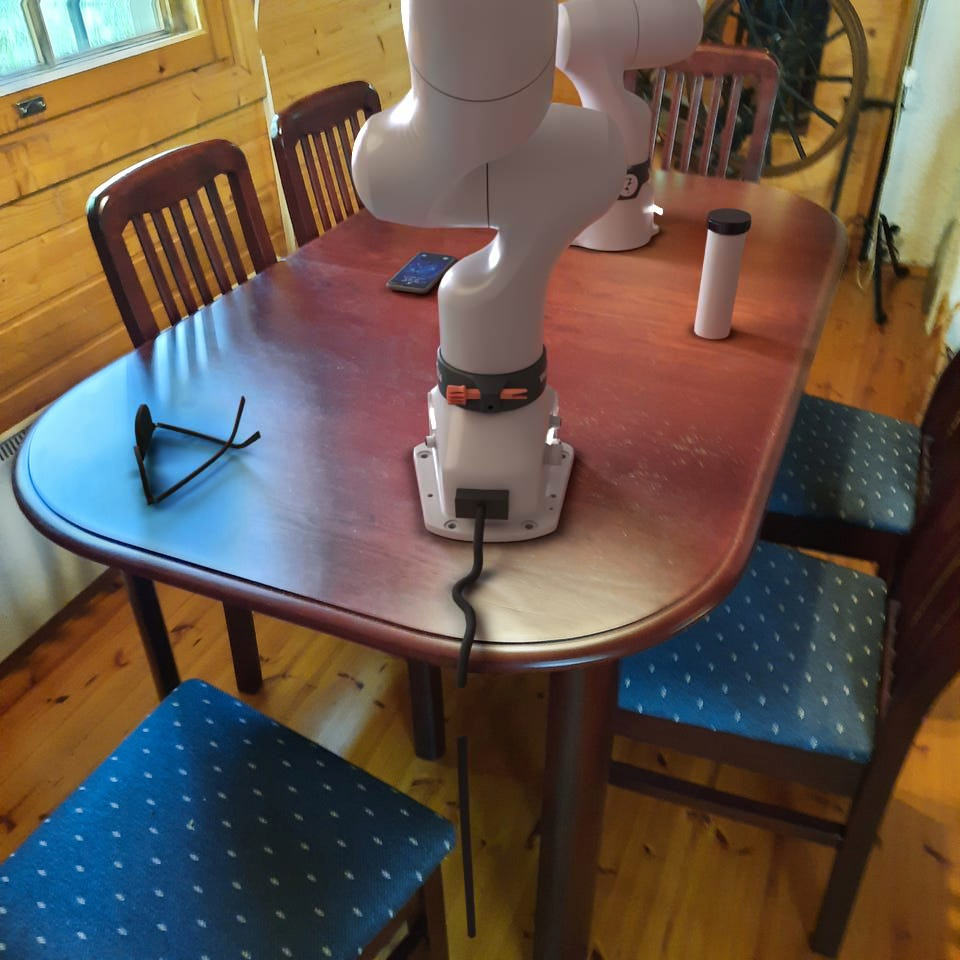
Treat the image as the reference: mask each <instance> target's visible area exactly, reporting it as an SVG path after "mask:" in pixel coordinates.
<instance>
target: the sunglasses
mask: <svg viewBox="0 0 960 960" xmlns="http://www.w3.org/2000/svg"><path fill="white" fill-rule="evenodd" d="M245 404H246V398H245V396H244V395H241V396H240V401H239V405H238V408H237V409H238V410H237V413H236V417H235V421H234V425H233V429H232V432H231V435H230V437H229V439H228V440H227V441H226V440H223V439H220V438H217V437H214V436H211V435H208V434H204V433H201V432H198V431H195V430H192V429H188V428H184V427H180V426H176V425H172V424H169V423H164V422H159V421H157V422H153V418H152V414H151V411H150V408H149V406H148V404H146V403H142V404H140V405H139V406H138V409H137V411H136V413H135V418H134V436H135V444H136V445H133V447H132V448H133V452H134V455H135V460H136V463H137V467H138V471H139V475H140V479H141V485H142V489H143V493H144V497H145V500H146V503H147V505H148V506H151V505H154V504H155V501H156V503H157V504H160V503H162V501H164V500H165V499H167V498H168V497H170V496H171V495H172V494H174V493H175V492H177V491H178V490H179V489H181V488H182V487H184V486H185V485H187V484H188V483H189V482H191V481H192V480H193V479H194V478H196V477H197V476H198V475H200V474H202V473H203V472H204V471H205V470H206V469H208V467H210V466H211V465H212V464H213V463H215V462H216V461H217V460H218V459H220V457H222V455H223V454H224V453H225V452H226V451H228V449H229V448H231V449H233V450H242V449H246V448H247V447H249V446H250V445H252V444H254V443H255V442H256V441H258V440H260V439H261V438H262V435H261V432H260V430H256V431H255V432H254V433H253V434H252V435H250V436H249V437H248V438H247V439H246V440H245V441H244V442H241V443H233V442H234V441H235V438H236V435H237V434H238V429H239V426H240V423H241V419H242V415H243V412H244V409H245ZM157 428H160V429H164V430H168V431H172V432H175V433H179V434H183V435H188V436H191V437H195V438H199V439H202V440H205V441H209V442H211V443H215V444H218V445H221V446H223V447H221V449H220V450H219V451H217V452H216V453H215V454H214V455H213V456H212V457H211V458H209V459H208V460H207V461H206V462H204V463H203V464H202V465H200V466H199V467H198V468H196V469H195V470H193V471H192V472H191V473H189V474H188V475H187V476H186V477H184V478H183V479H180V481H178V482H177V483H176V484H174V485H172V486H171V487H169V488H168V489H166V490H165V491H163V492H162V493H161V494H160V495H158V496H157V497H154V495H152V491H151V487H150V484H149V479H148V474H147V470H146V467H145V463H144V461H145V459H146V456H147V453H148V450H149V448H150V445H151V442H152V438H153V435H154V432H155V430H157Z"/></svg>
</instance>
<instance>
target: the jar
mask: <svg viewBox="0 0 960 960" xmlns="http://www.w3.org/2000/svg"><path fill="white" fill-rule="evenodd" d="M746 238H747V232H746V233H743V234H738V235H725V234H719V233H715V232H712V231H710V230H709V229H708V228H707V236H706V242H705V249H704V257H703V263H702V270H701V271H702V272H701V279H700V286H699V291H698V300H697V306H696V314H695V321H694V329H693V331H694V333H695V335H697V336H698V337H700V338H704V339H707V340H722V339H725V338H727V337H728V336H729V335H730V332H731V325H732V322H733V321H732V320H733V315H734V309H735V302H736V296H737V290H738V286H739V279H740V272H741V267H742V261H743V256H744V250H745V244H746Z"/></svg>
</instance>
